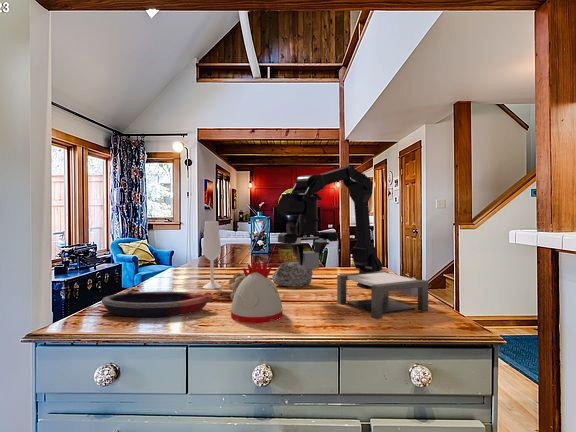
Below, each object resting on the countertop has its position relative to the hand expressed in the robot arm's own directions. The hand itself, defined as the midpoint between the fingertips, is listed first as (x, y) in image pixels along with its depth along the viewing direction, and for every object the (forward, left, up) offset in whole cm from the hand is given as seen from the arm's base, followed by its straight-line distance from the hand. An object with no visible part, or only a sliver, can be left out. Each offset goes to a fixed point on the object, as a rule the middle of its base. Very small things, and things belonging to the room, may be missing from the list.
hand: (308, 264), depth 124 cm
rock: (-5, -22, -11) cm, 25 cm away
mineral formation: (+16, -12, -11) cm, 23 cm away
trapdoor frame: (-15, +17, -11) cm, 25 cm away
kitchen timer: (+21, +10, -11) cm, 26 cm away
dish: (+45, -6, -12) cm, 47 cm away
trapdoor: (-17, +17, -7) cm, 25 cm away
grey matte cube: (0, 0, -1) cm, 1 cm away
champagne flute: (+23, -32, -11) cm, 41 cm away
